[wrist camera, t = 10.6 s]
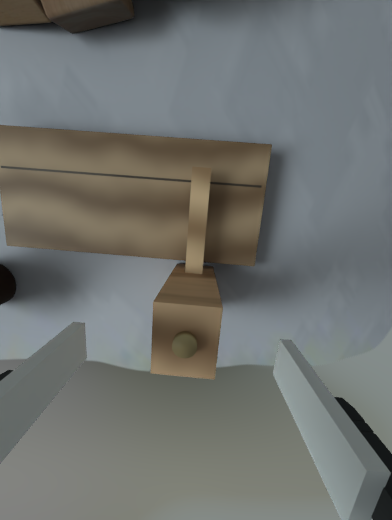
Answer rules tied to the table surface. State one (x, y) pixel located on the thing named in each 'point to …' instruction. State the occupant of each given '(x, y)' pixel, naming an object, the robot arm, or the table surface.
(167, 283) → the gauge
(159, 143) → the board
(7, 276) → the coffee mug
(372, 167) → the table surface
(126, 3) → the brown wooden blocks
